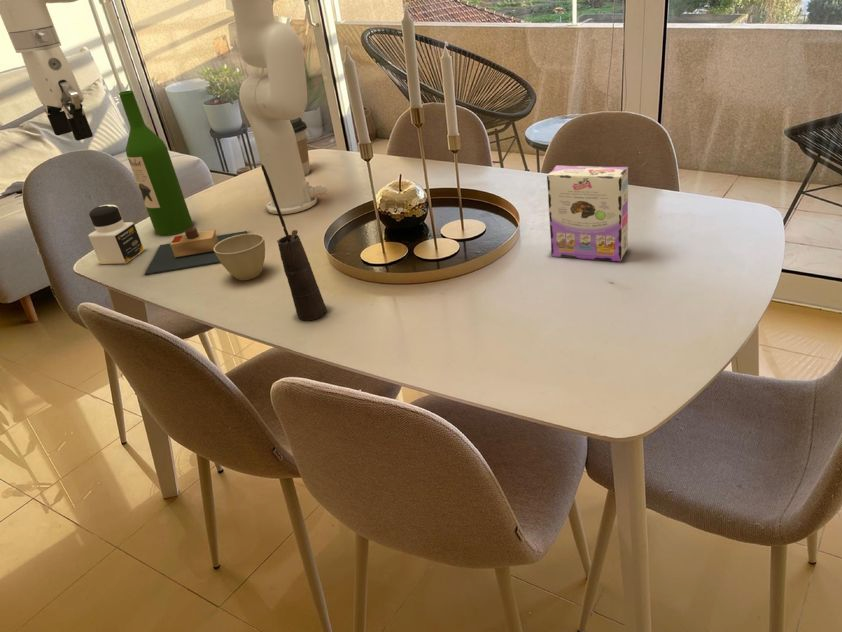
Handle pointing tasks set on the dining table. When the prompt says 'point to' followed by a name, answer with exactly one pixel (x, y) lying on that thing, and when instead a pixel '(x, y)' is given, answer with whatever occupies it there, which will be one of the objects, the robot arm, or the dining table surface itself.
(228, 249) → the beige bowl
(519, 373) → the dining table surface
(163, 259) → the desk mat
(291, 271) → the butter churn
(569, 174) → the candy box
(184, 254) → the stamp
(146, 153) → the wine bottle
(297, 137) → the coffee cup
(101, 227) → the medicine bottle
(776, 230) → the dining table surface
